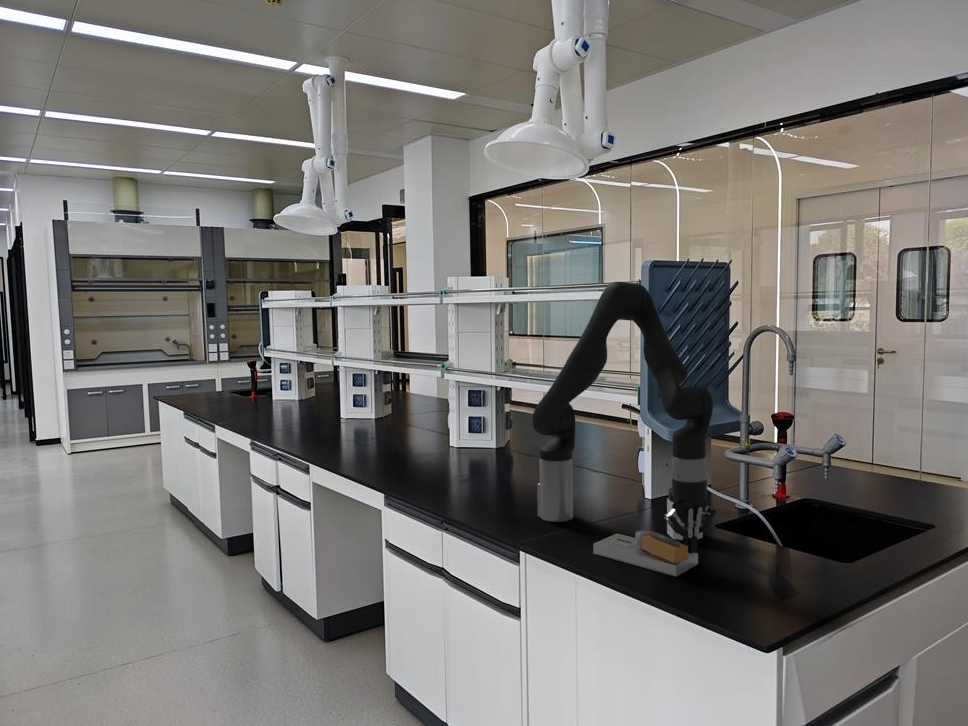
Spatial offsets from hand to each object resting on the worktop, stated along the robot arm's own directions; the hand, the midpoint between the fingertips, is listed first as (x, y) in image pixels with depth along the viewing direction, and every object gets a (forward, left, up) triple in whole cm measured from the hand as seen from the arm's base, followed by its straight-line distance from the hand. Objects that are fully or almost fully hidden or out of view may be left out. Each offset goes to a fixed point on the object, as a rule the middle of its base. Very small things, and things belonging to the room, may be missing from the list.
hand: (690, 552), depth 154 cm
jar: (-12, +20, -4) cm, 24 cm away
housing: (-11, -1, -4) cm, 12 cm away
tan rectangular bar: (-7, -2, -1) cm, 7 cm away
